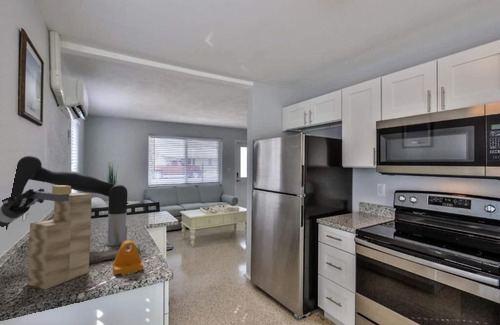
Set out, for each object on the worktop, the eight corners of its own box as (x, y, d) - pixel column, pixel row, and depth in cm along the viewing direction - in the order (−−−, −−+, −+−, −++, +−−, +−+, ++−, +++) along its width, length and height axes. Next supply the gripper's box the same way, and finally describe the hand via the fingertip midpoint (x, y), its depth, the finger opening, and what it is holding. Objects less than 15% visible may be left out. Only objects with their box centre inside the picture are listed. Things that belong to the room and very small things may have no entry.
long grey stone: (142, 258, 125) (136, 253, 132) (143, 247, 126) (136, 243, 133) (53, 271, 102) (52, 265, 110) (55, 258, 103) (53, 253, 110)
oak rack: (27, 284, 91) (31, 195, 92) (71, 268, 106) (74, 192, 107) (45, 289, 88) (49, 197, 89) (88, 272, 103) (91, 193, 104)
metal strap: (23, 197, 97) (24, 183, 97) (35, 196, 101) (36, 182, 101) (58, 201, 90) (59, 186, 90) (70, 200, 94) (71, 185, 94)
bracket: (114, 276, 99) (115, 246, 100) (112, 270, 105) (113, 241, 106) (143, 271, 105) (144, 242, 106) (140, 265, 111) (141, 238, 112)
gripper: (-13, 203, 96) (13, 182, 91) (30, 199, 109) (54, 181, 105) (-8, 221, 95) (18, 201, 90) (35, 215, 108) (59, 197, 103)
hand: (37, 190), depth 97 cm, fingers closed on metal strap, 3 cm apart
